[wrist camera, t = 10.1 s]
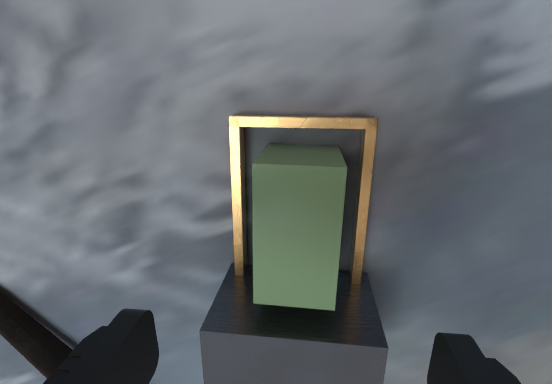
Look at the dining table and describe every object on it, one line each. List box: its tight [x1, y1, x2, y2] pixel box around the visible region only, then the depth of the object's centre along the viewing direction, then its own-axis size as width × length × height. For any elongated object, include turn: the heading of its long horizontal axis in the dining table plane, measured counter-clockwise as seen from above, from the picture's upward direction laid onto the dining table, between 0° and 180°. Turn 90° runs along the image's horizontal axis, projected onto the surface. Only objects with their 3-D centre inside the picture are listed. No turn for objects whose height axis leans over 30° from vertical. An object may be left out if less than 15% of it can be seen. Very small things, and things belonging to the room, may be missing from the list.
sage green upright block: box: [252, 143, 347, 311], centre depth 19 cm, size 8×4×6 cm, turn 179°
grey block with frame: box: [200, 115, 388, 384], centre depth 19 cm, size 16×10×7 cm, turn 0°
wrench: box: [0, 291, 73, 379], centre depth 26 cm, size 5×5×30 cm
